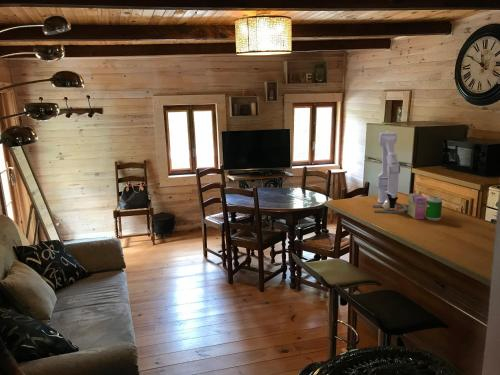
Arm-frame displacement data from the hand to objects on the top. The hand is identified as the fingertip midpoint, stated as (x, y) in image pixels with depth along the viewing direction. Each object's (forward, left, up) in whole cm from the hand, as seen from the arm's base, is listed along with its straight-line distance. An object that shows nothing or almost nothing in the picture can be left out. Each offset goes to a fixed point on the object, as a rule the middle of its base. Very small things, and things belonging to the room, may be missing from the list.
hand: (391, 207), depth 242 cm
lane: (0, -1, -2) cm, 2 cm away
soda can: (+16, +20, -2) cm, 25 cm away
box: (+11, +12, -2) cm, 16 cm away
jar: (0, -4, -1) cm, 4 cm away
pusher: (0, +2, -2) cm, 3 cm away
